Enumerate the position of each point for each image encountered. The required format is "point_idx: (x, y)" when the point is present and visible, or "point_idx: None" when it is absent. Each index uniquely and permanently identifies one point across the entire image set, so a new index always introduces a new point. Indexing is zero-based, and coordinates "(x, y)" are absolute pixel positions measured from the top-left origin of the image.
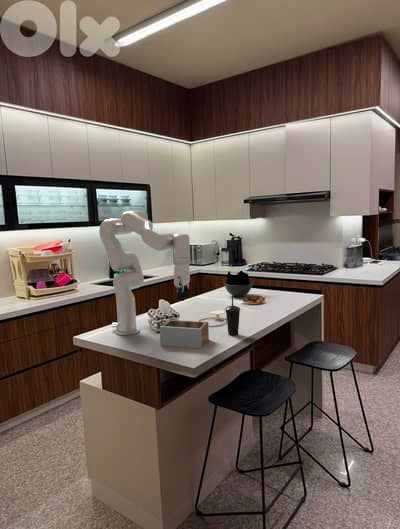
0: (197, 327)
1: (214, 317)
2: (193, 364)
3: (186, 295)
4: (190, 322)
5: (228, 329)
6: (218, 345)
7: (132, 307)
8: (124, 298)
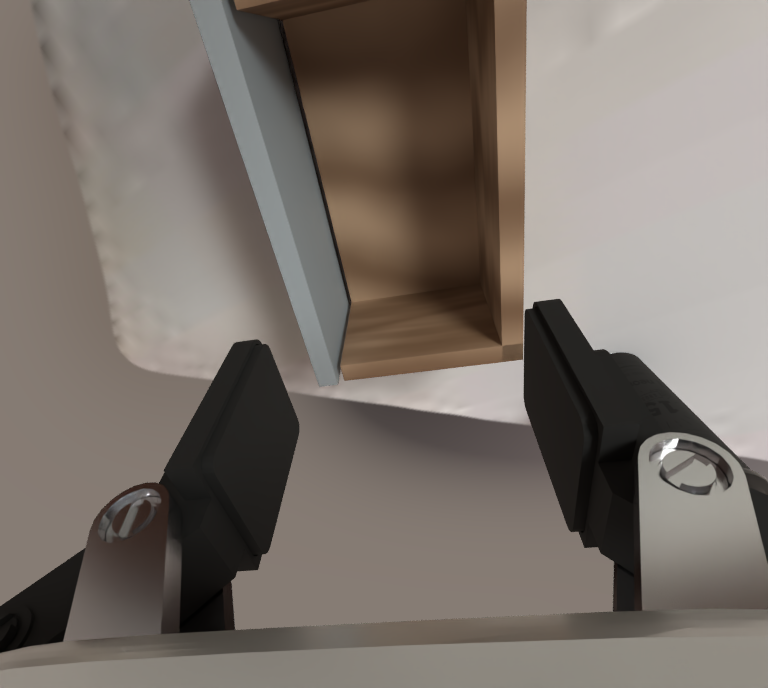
0: (492, 265)
1: None
2: (152, 355)
3: (530, 395)
4: (498, 220)
5: None
6: None
7: None
8: None
